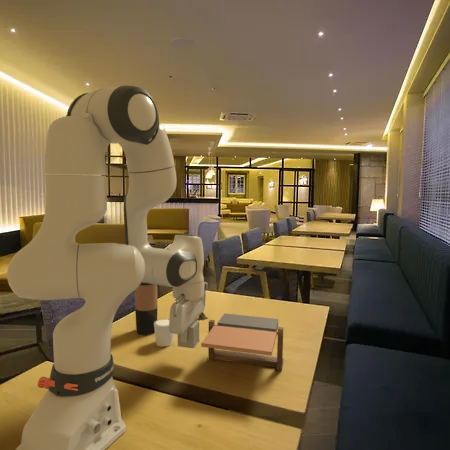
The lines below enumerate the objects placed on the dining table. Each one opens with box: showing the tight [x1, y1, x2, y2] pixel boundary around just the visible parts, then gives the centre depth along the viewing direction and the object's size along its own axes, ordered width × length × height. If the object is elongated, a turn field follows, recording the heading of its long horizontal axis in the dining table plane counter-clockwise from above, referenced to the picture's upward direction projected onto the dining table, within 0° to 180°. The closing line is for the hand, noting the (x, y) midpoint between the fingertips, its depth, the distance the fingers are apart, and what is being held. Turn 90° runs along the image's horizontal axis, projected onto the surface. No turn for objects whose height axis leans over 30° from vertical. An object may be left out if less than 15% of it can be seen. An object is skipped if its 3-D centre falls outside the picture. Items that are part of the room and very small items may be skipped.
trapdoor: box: [200, 313, 279, 357], centre depth 98 cm, size 22×18×2 cm
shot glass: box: [154, 318, 175, 348], centre depth 114 cm, size 7×7×7 cm
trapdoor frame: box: [207, 319, 284, 372], centre depth 102 cm, size 5×21×12 cm, turn 76°
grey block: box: [177, 320, 200, 349], centre depth 101 cm, size 5×5×6 cm
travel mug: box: [134, 283, 158, 336], centre depth 123 cm, size 8×8×20 cm
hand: (188, 336), depth 101 cm, fingers closed on grey block, 5 cm apart
